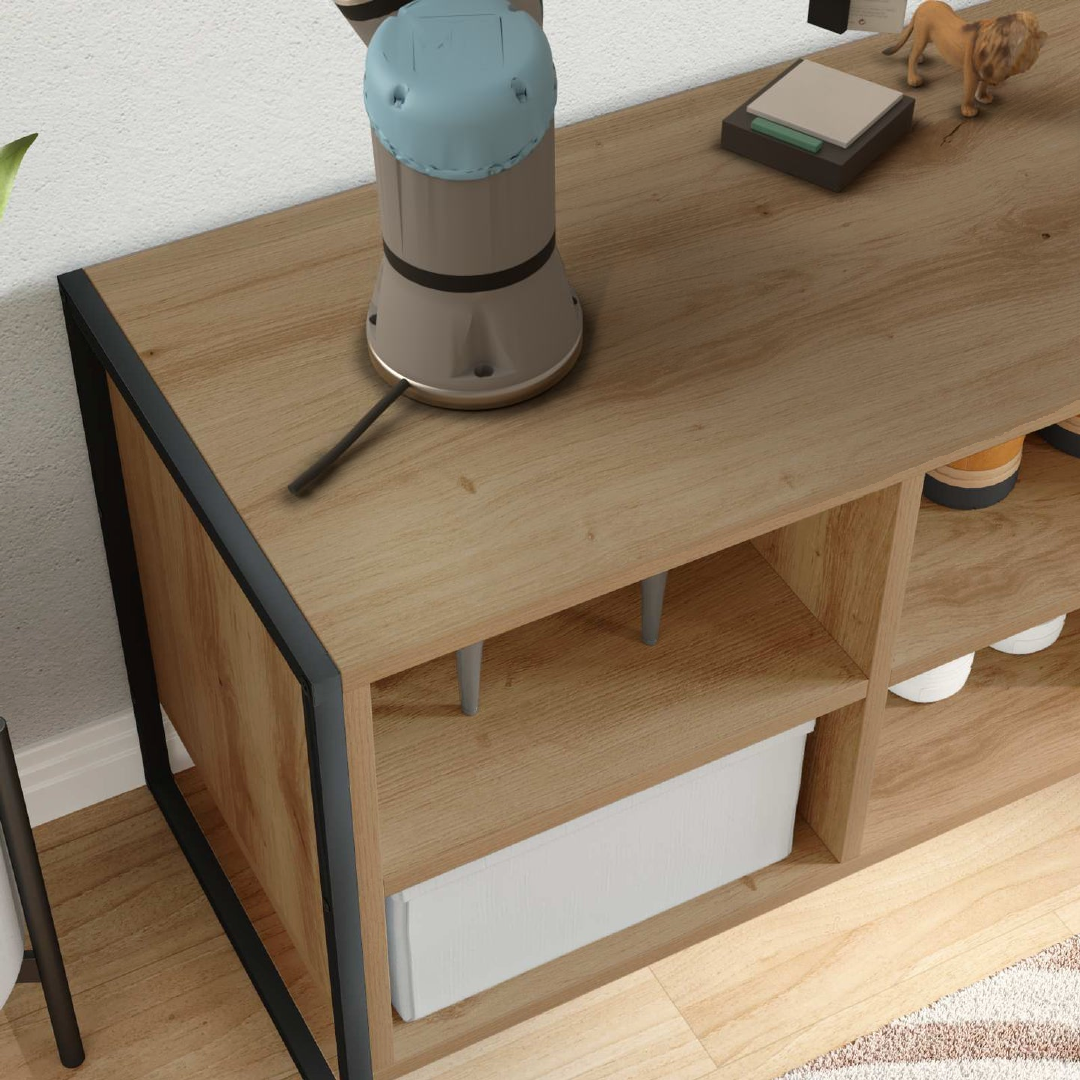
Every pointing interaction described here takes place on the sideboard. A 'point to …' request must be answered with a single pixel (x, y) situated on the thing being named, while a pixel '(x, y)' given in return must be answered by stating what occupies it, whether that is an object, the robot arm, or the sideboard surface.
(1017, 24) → the lion figurine
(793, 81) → the scale
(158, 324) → the sideboard surface
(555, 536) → the sideboard surface
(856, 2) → the small box
